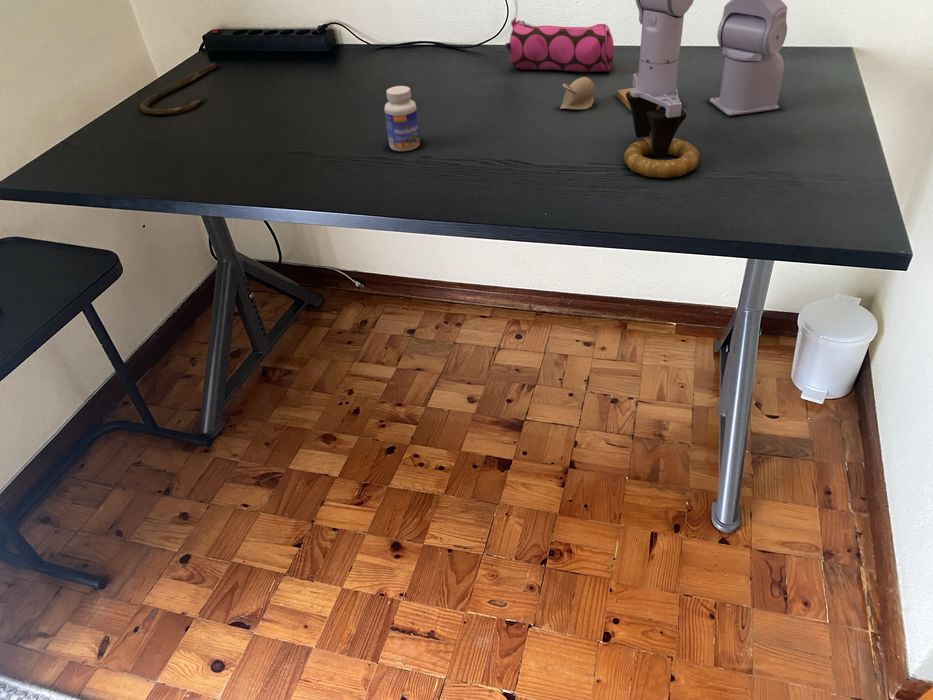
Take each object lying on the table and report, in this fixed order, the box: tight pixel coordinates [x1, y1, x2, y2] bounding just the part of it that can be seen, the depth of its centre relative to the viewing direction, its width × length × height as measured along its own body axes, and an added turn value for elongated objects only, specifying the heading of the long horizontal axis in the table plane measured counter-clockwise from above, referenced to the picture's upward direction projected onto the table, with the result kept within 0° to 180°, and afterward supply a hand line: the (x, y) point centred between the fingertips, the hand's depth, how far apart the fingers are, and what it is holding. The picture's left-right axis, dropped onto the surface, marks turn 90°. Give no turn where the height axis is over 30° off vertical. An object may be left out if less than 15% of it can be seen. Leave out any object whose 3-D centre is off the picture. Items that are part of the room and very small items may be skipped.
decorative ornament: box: [559, 76, 595, 111], centre depth 134 cm, size 4×8×5 cm, turn 130°
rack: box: [615, 87, 682, 111], centre depth 133 cm, size 9×9×6 cm
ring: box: [623, 137, 701, 179], centre depth 113 cm, size 11×11×3 cm
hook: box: [139, 62, 217, 116], centre depth 158 cm, size 12×30×2 cm, turn 8°
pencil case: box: [505, 17, 615, 73], centre depth 149 cm, size 21×10×10 cm, turn 73°
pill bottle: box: [383, 85, 421, 152], centre depth 124 cm, size 5×5×10 cm
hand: (651, 145), depth 117 cm, fingers open, 7 cm apart
